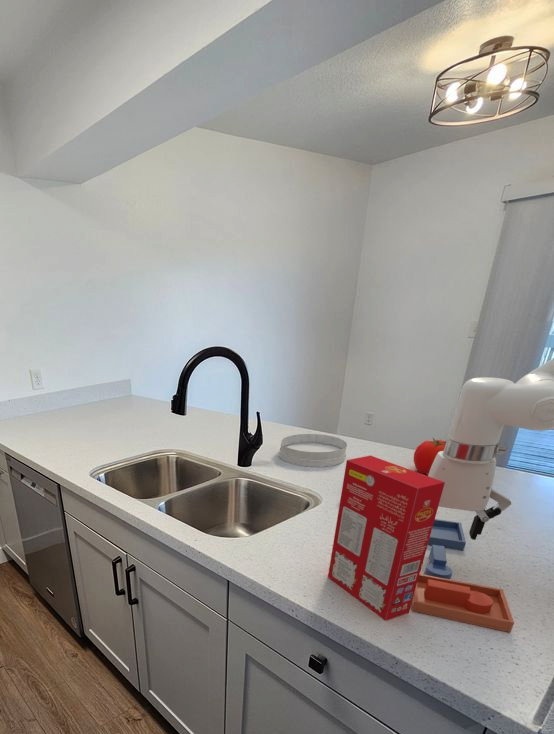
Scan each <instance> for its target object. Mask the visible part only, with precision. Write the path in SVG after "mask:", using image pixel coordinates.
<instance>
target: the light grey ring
mask: <svg viewBox="0 0 554 734" xmlns="http://www.w3.org/2000/svg"><path fill="white" fill-rule="evenodd" d="M347 445H348V443H347V442H346V441H345V440H344V439H341V438H340V437H337V436H336V437H335V436H334V435H333V436H332V435H329V434H328V435H327V434H319V433H301V434H293V435H288V436H286V437H283V438H282V439H281V441H280V447H279V458H280V459H281V460H282V461H284V462H286V463H289V464H292V465H296V466H300V467H308V468H309V467H310V468H322V467H323V468H324V467H333V466H337V465H340V464H342V463H343V462H345V460H346V456H347Z"/></svg>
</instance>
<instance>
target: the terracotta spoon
mask: <svg viewBox="0 0 554 734" xmlns="http://www.w3.org/2000/svg"><path fill="white" fill-rule="evenodd" d="M424 596H425V599H428V600H433V601H438V602H442V603H447V604H452V605H457V606H462V607H464V608H465V609H467V610H469V611H471V612H474V613H479V614H486V613H489V612H490V610H491V607H492V605H493V600H492V598H491V597H489V596H488V595H486V594H484V593H481V592H478V591H470V587H466V586H461V585H455V584H450V583H445V582H440V581H434V580H429V579H428V581H427V585H426V588H425V591H424Z"/></svg>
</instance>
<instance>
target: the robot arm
mask: <svg viewBox="0 0 554 734" xmlns="http://www.w3.org/2000/svg"><path fill="white" fill-rule="evenodd" d="M505 426H509V427H514V428H519V429H524V430H529V431H530V430H531V431H538V432H542V431H543V432H544V431H551V430H554V357H553V358H551V359H549V360H548V361H546V362H545V363H542V364H541V365H539V366H538V367H536V368H535V369H533V370H531V371H530V372H529V373H527V374H525V375H524V376H522V377H521V378H519V379H518V380H517V381H516V382H515V383H514V382H513V381H512V380H509V379H507V378H502V377H501V378H500V377H489V376H488V377H474V378H473V377H472V378H470V379H468V380H466V381H465V382H464V384H463V385H462V386H461V390H460V393H459V397H458V401H457V403H456V407H455V411H454V414H453V417H452V420H451V424H450V428H449V432H448V434H447V438H446V445H445V448H444V451H440V452H438V454H437V456H436V458H435V460H434V462H433V464H432V466H431V469H430V471H429V474H427V476H429V477H432V478H434V479H437V480H440V481H443V482H445V484H444V488H443V491H442V495H441V498H440V502H439V506H438V508H447V509H454V510H460V511H469V512H475V513H476V515H475V516H474V517H473V520H472V522H471V526H470V528H469V532H468V533H469V537H470V539H471V540H473V541H475V540H476V539H477V537H478V536H480V535H482V533H483V531H484V527H485V524H486V523H488V522H489V521H490V520H491V519H493V518H495V517H497V516H500V515H501V514H502V512H503V511H505V510H507V509H508V508H509V507H510V506H511V505H512V501H511V499H510V498H508V497H507V496H505V495H503V494H502V493H500V492H498V491H496V490H495V489H493V485H494V480H495V476H496V469H497V458H496V457H495V456H497V455H505V454H506V452H507V448H508V447H507V446H506V445H501V444H500V443H499V441H500V439H501V436H502V433H503V430H504V427H505ZM490 499H491V500H493V501H495V502H496V504H495V505H494V506H491V507H489V508H487V509H486V507H487V505H488V503H489V501H490Z"/></svg>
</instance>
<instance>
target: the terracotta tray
mask: <svg viewBox="0 0 554 734" xmlns="http://www.w3.org/2000/svg"><path fill="white" fill-rule="evenodd" d="M428 579H429V580H434V581H440V582H445V583H450V584H455V585H461V586H466V587H470V591H478V592H481V593H484V594H486V595H488V596H489V597H491V598H492V600H493V605H492V607H491V610H490V612H489V613H486V614H479V613H474V612H471V611H469V610H467V609H465V608H464V607H462V606H457V605H452V604H447V603H442V602H438V601H433V600H428V599H425V596H424V591H425V588H426V585H427V581H428ZM411 611H412V612H416V613H420V614H425V615H429V616H433V617H437V618H442V619H448V620H451V621H456V622H461V623H466V624H469V625H474V626H478V627H479V626H480V627H483V628H489V629H492V630H497V631H502V632H505V633H511V631H512V629H513V627H514V625H515V621H514V618H513V616H512V612H511V610H510V606H509V604H508V600H507V597H506V595H505V591H504V589H503V588H498V587H494V586H493V587H492V586H487V585H481V584H476V583H471V582H465V581H461V580H455V579H445V578H440V577H434V576H429V575H425V574H424V573H420V574H419V578H418V582H417V585H416V589H415V592H414V596H413V600H412V603H411Z"/></svg>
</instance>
